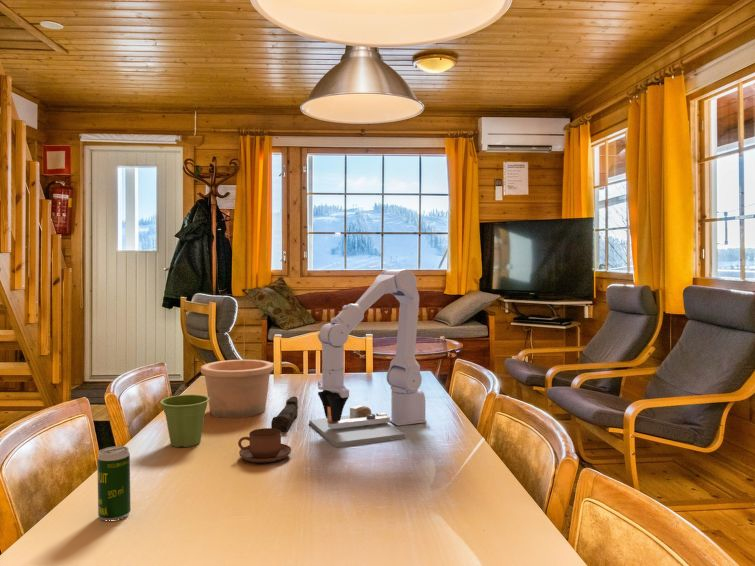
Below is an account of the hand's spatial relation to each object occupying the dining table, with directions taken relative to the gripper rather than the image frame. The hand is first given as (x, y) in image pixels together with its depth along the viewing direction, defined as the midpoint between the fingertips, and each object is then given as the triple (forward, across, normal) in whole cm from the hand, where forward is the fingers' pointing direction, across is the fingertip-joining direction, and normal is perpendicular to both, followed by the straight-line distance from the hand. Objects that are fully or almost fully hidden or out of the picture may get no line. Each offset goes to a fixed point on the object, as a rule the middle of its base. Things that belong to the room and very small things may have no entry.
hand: (333, 419), depth 158 cm
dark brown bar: (+4, -18, -6) cm, 20 cm away
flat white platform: (+4, 0, +7) cm, 8 cm away
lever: (+2, 0, +7) cm, 8 cm away
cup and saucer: (+4, +9, -22) cm, 24 cm away
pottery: (+4, -37, -14) cm, 40 cm away
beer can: (+4, +25, -57) cm, 63 cm away
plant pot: (+4, -12, -36) cm, 38 cm away
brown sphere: (+3, -5, +13) cm, 14 cm away
